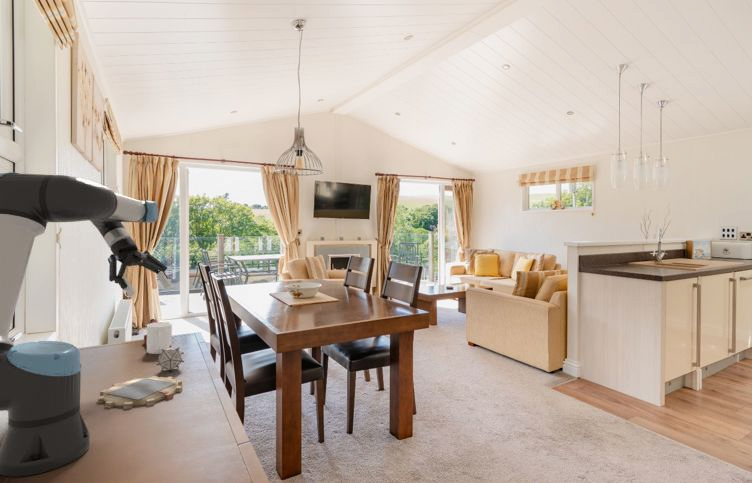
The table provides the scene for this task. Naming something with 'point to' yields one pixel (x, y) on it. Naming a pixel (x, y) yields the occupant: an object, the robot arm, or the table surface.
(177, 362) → the game die
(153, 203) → the robot arm
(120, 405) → the sprocket plate
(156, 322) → the toy fire truck
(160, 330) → the mug
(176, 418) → the table surface
